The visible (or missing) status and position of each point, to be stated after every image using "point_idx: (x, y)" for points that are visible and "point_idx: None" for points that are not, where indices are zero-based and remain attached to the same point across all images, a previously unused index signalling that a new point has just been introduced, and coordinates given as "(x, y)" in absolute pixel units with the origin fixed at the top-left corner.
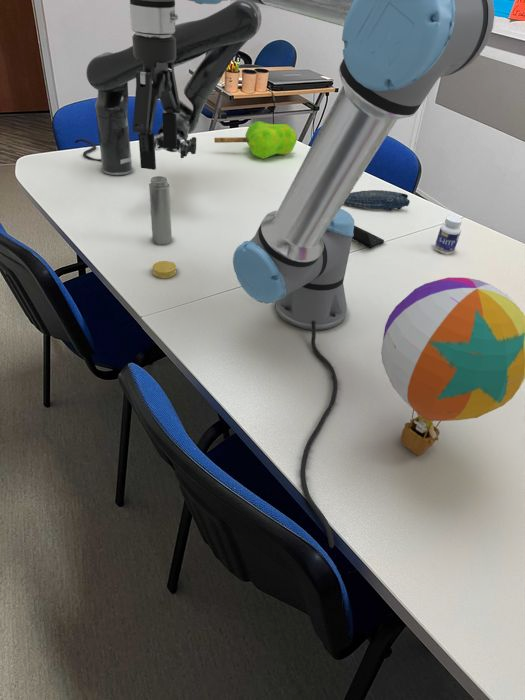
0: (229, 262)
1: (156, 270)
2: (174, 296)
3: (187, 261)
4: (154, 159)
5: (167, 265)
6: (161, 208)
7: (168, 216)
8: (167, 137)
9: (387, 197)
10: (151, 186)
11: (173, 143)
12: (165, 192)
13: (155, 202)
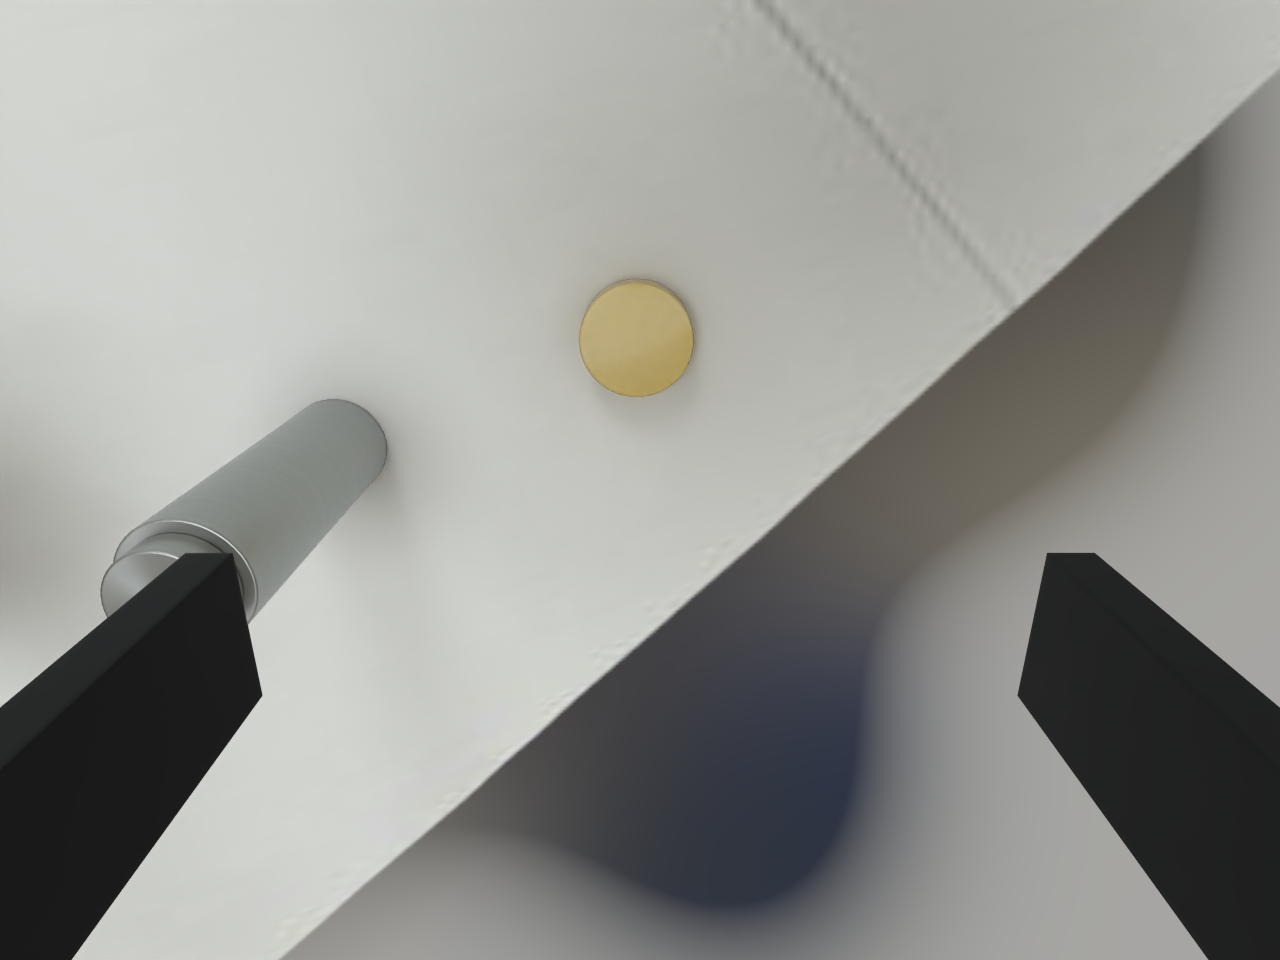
0: (415, 16)
1: (683, 365)
2: (831, 222)
3: (492, 258)
4: (1147, 615)
5: (621, 329)
6: (304, 500)
7: (289, 449)
8: (191, 725)
9: None
10: None
11: (213, 611)
12: (230, 519)
13: (299, 547)
